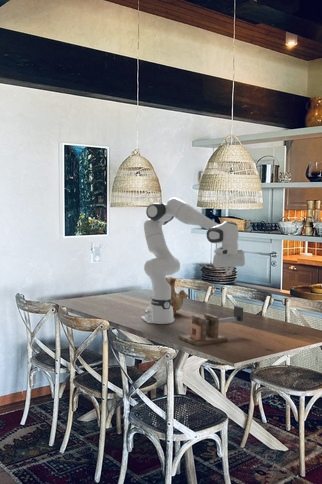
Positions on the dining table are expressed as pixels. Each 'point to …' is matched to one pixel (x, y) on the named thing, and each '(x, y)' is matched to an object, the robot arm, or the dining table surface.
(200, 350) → the dining table surface
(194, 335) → the spacer
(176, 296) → the tan plush toy
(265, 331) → the dining table surface
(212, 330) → the stand
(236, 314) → the shaft
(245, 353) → the dining table surface
